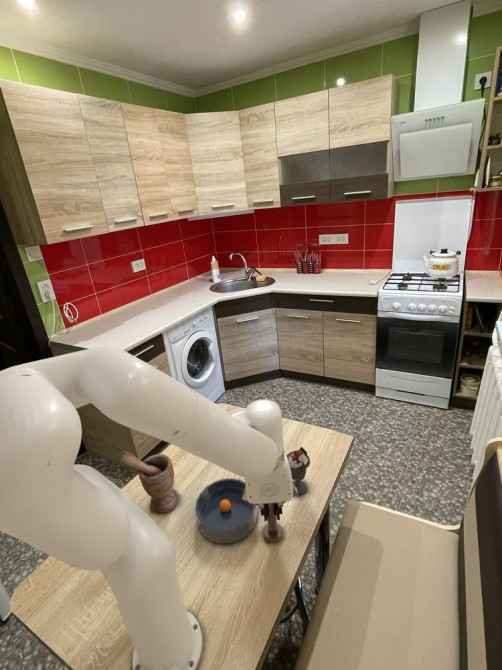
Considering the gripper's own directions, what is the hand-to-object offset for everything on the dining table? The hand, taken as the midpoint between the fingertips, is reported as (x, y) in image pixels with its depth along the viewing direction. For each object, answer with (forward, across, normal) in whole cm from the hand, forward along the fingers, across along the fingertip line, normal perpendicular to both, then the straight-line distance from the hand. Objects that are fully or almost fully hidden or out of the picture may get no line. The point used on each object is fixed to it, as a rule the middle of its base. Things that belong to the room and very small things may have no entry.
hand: (271, 514), depth 80 cm
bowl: (+7, -11, +6) cm, 14 cm away
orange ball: (+5, -12, +7) cm, 15 cm away
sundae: (+7, +8, +13) cm, 17 cm away
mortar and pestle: (+7, -30, +11) cm, 33 cm away
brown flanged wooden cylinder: (+7, 0, 0) cm, 7 cm away
